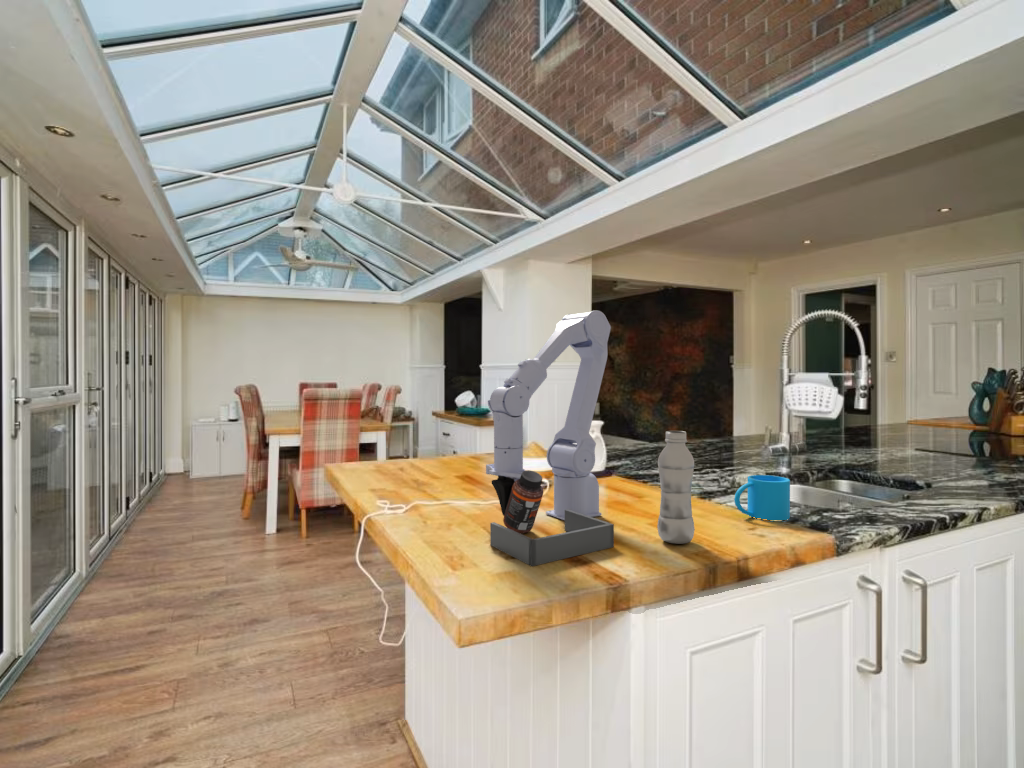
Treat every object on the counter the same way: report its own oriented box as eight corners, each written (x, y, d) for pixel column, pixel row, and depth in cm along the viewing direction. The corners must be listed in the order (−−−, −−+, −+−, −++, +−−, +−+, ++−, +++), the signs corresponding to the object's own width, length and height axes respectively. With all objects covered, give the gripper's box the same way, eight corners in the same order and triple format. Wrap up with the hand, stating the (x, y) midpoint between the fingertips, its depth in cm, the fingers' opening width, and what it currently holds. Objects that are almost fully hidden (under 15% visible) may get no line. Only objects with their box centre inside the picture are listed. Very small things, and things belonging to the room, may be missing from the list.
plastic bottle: (694, 538, 100) (695, 430, 100) (694, 549, 94) (694, 434, 94) (658, 535, 103) (658, 429, 102) (655, 546, 96) (656, 433, 96)
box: (567, 529, 106) (567, 509, 106) (613, 546, 96) (613, 524, 96) (490, 545, 97) (490, 522, 97) (531, 566, 86) (531, 541, 86)
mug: (772, 511, 121) (772, 474, 121) (798, 520, 113) (798, 481, 113) (723, 513, 119) (723, 476, 118) (746, 523, 111) (746, 483, 110)
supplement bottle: (528, 539, 102) (544, 488, 98) (499, 528, 103) (513, 478, 99) (534, 521, 108) (549, 473, 104) (506, 511, 109) (520, 463, 105)
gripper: (473, 444, 112) (473, 510, 112) (511, 453, 100) (511, 526, 100) (502, 442, 116) (502, 505, 116) (542, 450, 103) (542, 521, 104)
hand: (508, 515), depth 108 cm, fingers closed
